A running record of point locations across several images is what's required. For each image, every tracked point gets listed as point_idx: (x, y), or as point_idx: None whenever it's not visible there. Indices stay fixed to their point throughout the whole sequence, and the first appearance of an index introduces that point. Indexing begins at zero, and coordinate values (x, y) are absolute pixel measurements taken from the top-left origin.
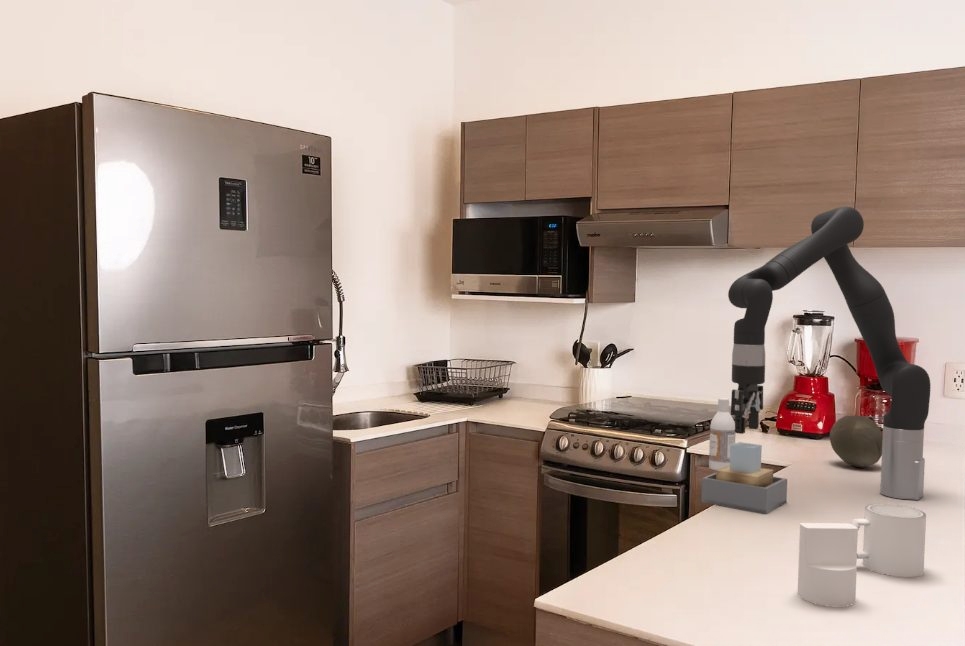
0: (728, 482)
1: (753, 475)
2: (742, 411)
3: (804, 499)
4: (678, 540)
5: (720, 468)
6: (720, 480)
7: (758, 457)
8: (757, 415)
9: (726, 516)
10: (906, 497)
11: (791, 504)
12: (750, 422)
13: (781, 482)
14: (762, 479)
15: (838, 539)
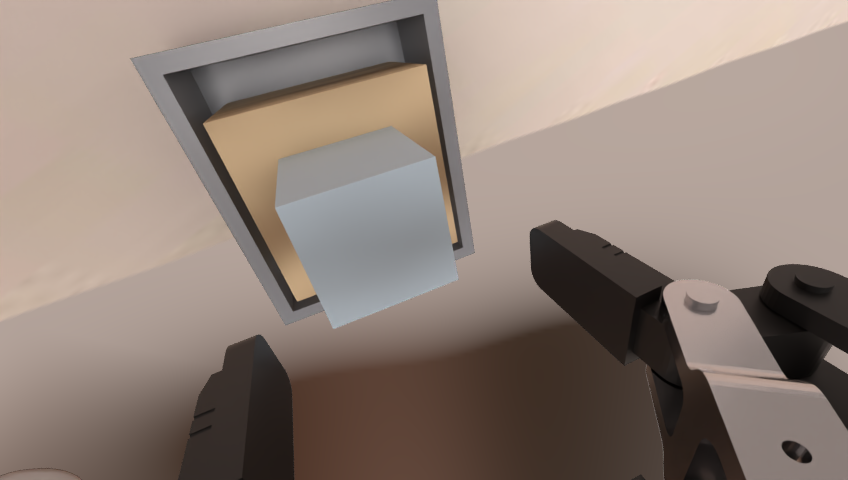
0: (461, 167)
1: (418, 98)
2: (829, 304)
3: (3, 38)
4: (754, 12)
5: (64, 478)
6: (457, 202)
7: (324, 166)
8: (246, 459)
9: (518, 77)
10: None
11: (168, 24)
12: (286, 416)
13: (231, 36)
14: (361, 78)
15: None
